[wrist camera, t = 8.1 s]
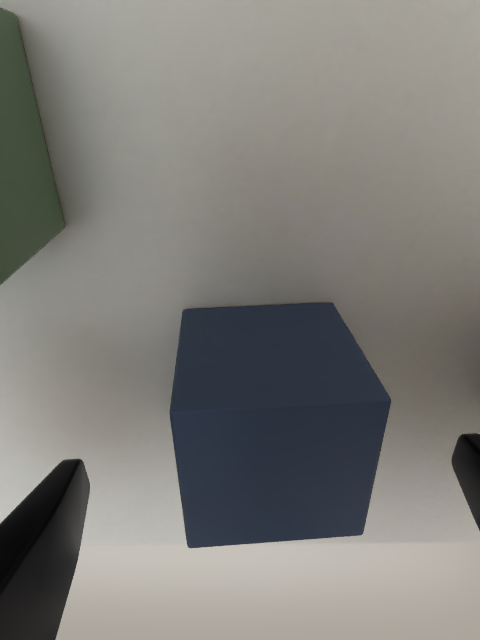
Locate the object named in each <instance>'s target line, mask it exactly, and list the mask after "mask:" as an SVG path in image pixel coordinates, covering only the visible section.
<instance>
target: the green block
mask: <svg viewBox="0 0 480 640" xmlns="http://www.w3.org/2000/svg"><path fill="white" fill-rule="evenodd" d="M64 228H65V225H64V221H63V216H62V212H61V208H60V203H59V199H58V195H57V190H56V186H55V182H54V177H53V173H52V169H51V164H50V160H49V156H48V152H47V147H46V143H45V139H44V134H43V130H42V126H41V121H40V117H39V113H38V108H37V104H36V100H35V95H34V91H33V87H32V82H31V78H30V74H29V69H28V65H27V61H26V57H25V52H24V48H23V44H22V39H21V35H20V31H19V26H18V22H17V18H16V16H15V14H14V13H12V12H10V11H7V10H5V9H3V8H0V285H1V284H2V283H3V282H4V281H5V280H7V279H8V278H9V277H10V276H11V275H12V274H13V273H14V272H16V271H17V270H18V269H19V268H20V267H21V266H22V265H23V264H25V263H26V262H27V261H28V260H29V259H30V258H31V257H32V256H34V255H35V254H36V253H37V252H38V251H39V250H40V249H41V248H43V247H44V246H45V245H46V244H47V243H48V242H49V241H50V240H52V239H53V238H54V237H55V236H56V235H57V234H58V233H60V232H61V231H62V230H63V229H64Z"/></svg>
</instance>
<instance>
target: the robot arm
mask: <svg viewBox="0 0 480 640" xmlns="http://www.w3.org/2000/svg"><path fill="white" fill-rule="evenodd" d="M452 467H453V470H454V472H455V474H456V477H457V479H458V481H459V484H460V486H461V488H462V491H463V493H464V496H465V498H466V500H467V503H468V505H469V507H470V510H471V512H472V515H473V517H474V519H475V522H476V524H477V526H478V528H479V530H480V434H477V433H473V434H462V435H460V436H459V438H458V440H457V443H456V446H455V449H454V452H453V455H452ZM89 493H90V483H89V479H88V476H87V472H86V469H85V465H84V463H83V461H82V460H81V459H67V460H63V461H62V462H61V463H59V464H58V465H57V466H56V467H55V469H54V470H53V471H52V472H51V473H50V474H49V475H48V476H47V477H46V478H45V479H44V480H43V481H42V482H41V483H40V484H39V485H38V486H37V487H36V488H35V489H34V490H33V491H32V492H31V493H30V494H29V495H28V496H27V497H26V498H25V499H24V500H23V501H22V502H21V503H20V504H19V505H18V506H17V507H16V508H15V509H14V510H13V511H12V512H11V513H10V514H9V515H8V516H7V517H6V518H5V519H4V520H3V521H2V522H1V523H0V640H55V639H56V635H57V632H58V628H59V625H60V621H61V618H62V614H63V611H64V607H65V604H66V600H67V597H68V593H69V589H70V586H71V582H72V579H73V576H74V572H75V568H76V564H77V560H78V555H79V550H80V545H81V539H82V533H83V527H84V522H85V516H86V510H87V504H88V499H89Z"/></svg>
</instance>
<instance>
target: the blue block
mask: <svg viewBox="0 0 480 640" xmlns="http://www.w3.org/2000/svg"><path fill="white" fill-rule="evenodd" d="M390 404H391V399H390V397H389V395H388V393H387V392H386V390H385V389H384V387H383V385H382V384H381V382H380V380H379V379H378V377H377V375H376V374H375V372H374V370H373V369H372V367H371V365H370V364H369V362H368V361H367V359H366V357H365V356H364V354H363V352H362V351H361V349H360V347H359V346H358V344H357V342H356V341H355V339H354V337H353V336H352V334H351V333H350V331H349V329H348V328H347V326H346V324H345V323H344V321H343V319H342V318H341V316H340V314H339V313H338V311H337V309H336V308H335V306H334V305H333V303H311V304H289V305H268V306H246V307H225V308H203V309H185V310H183V312H182V319H181V327H180V335H179V343H178V351H177V358H176V366H175V374H174V382H173V390H172V397H171V405H170V421H171V428H172V435H173V443H174V450H175V458H176V465H177V472H178V480H179V487H180V495H181V502H182V509H183V517H184V524H185V532H186V539H187V545H188V547H189V548H199V547H212V546H225V545H239V544H252V543H265V542H278V541H291V540H304V539H318V538H331V537H344V536H357V535H362V534H363V531H364V526H365V522H366V517H367V512H368V508H369V503H370V498H371V493H372V489H373V484H374V479H375V475H376V470H377V465H378V460H379V456H380V451H381V446H382V441H383V437H384V432H385V427H386V423H387V418H388V413H389V408H390Z"/></svg>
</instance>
